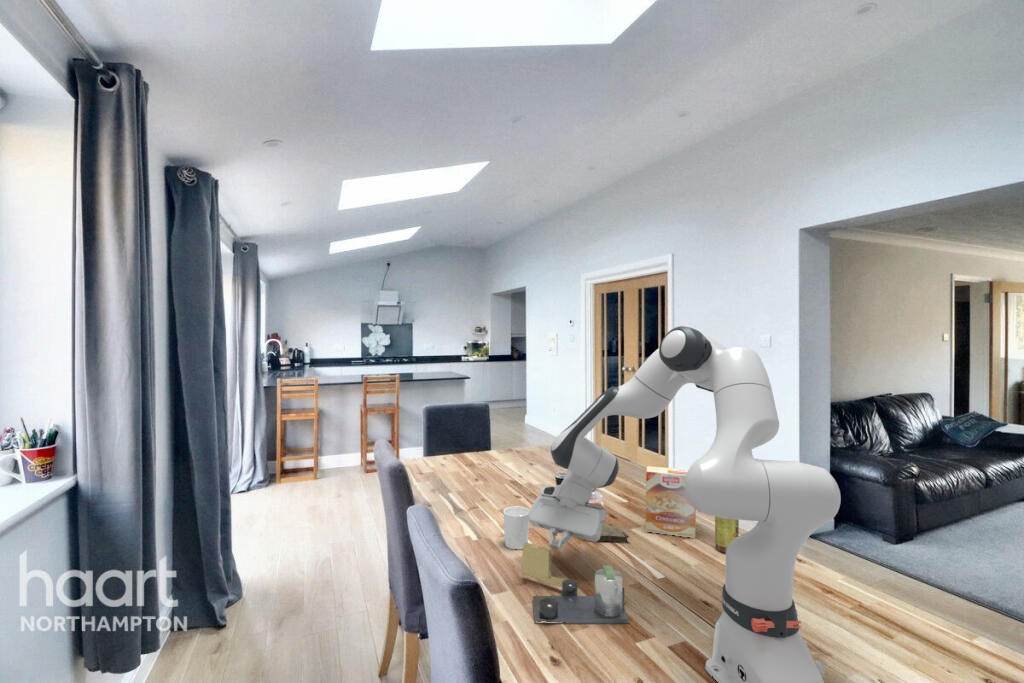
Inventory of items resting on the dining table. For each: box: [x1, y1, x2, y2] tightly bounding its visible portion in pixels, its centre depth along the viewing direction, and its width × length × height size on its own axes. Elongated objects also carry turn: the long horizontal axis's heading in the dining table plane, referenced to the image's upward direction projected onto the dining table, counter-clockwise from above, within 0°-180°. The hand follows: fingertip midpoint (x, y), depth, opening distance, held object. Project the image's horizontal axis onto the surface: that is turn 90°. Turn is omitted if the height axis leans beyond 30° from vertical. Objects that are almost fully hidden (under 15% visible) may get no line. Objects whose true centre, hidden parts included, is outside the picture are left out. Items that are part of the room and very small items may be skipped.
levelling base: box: [532, 564, 629, 624], centre depth 106 cm, size 10×21×10 cm, turn 91°
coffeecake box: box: [644, 465, 697, 539], centre depth 151 cm, size 15×7×20 cm, turn 73°
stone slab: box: [597, 521, 631, 544], centre depth 151 cm, size 27×12×5 cm, turn 39°
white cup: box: [503, 505, 531, 550], centre depth 140 cm, size 8×8×10 cm
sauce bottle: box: [714, 516, 740, 554], centre depth 138 cm, size 6×6×20 cm
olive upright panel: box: [522, 542, 579, 596], centre depth 116 cm, size 15×4×9 cm, turn 56°
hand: (554, 548), depth 121 cm, fingers closed
